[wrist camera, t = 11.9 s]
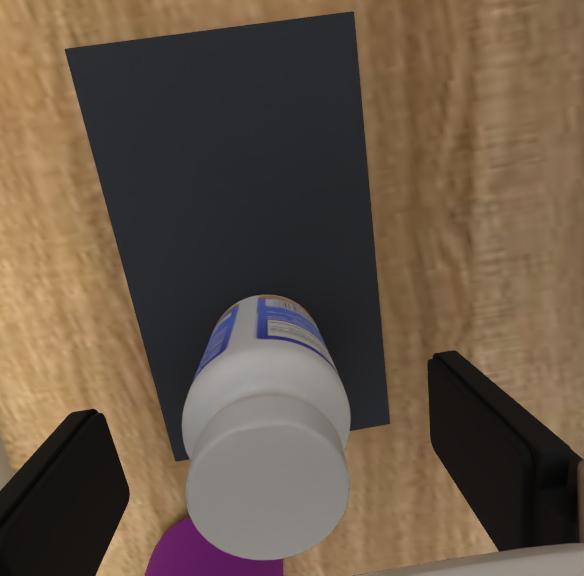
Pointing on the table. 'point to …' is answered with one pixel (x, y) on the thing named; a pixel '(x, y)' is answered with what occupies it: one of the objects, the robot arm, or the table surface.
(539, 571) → the robot arm
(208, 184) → the desk mat
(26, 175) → the table surface
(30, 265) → the table surface
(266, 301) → the pill bottle
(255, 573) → the beverage can
